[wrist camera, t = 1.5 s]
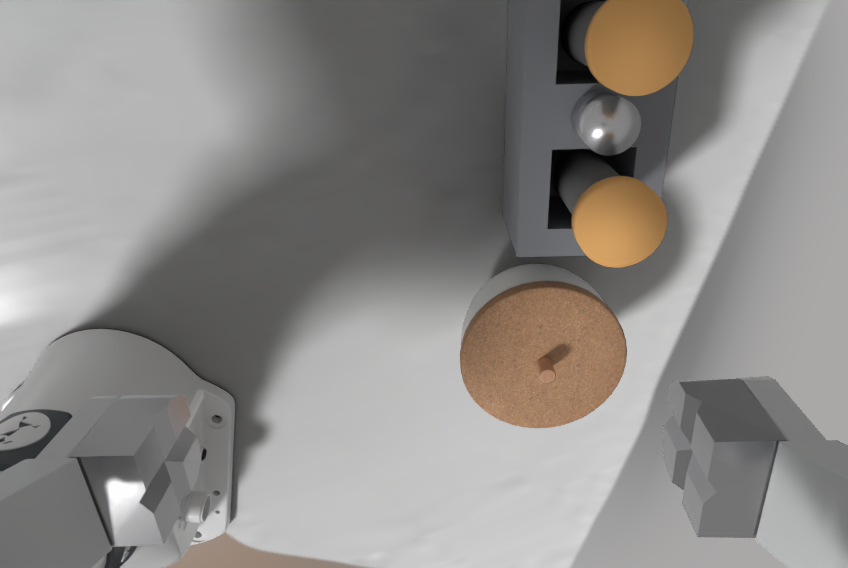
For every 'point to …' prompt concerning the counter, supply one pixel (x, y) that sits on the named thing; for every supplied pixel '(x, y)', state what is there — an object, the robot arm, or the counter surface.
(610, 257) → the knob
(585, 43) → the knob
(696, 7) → the counter surface
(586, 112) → the shiny silver ball
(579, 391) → the lidded jar
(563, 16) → the mount
